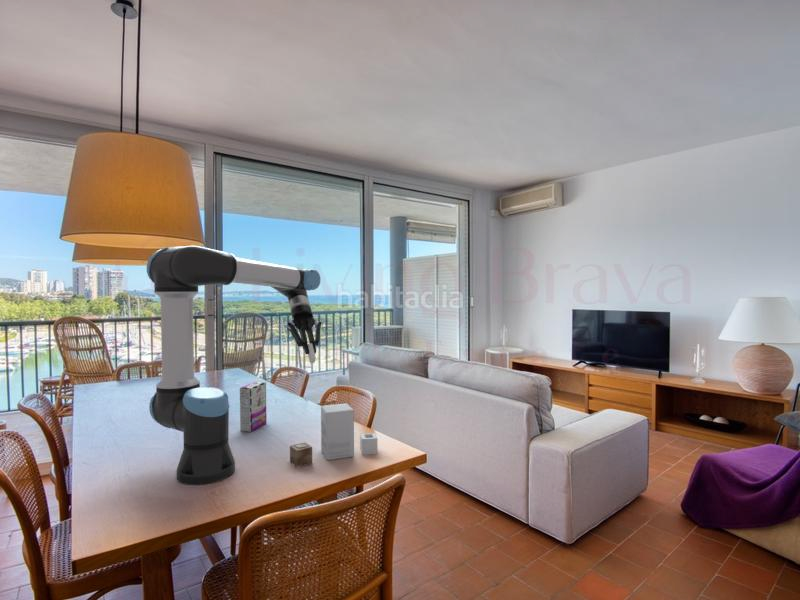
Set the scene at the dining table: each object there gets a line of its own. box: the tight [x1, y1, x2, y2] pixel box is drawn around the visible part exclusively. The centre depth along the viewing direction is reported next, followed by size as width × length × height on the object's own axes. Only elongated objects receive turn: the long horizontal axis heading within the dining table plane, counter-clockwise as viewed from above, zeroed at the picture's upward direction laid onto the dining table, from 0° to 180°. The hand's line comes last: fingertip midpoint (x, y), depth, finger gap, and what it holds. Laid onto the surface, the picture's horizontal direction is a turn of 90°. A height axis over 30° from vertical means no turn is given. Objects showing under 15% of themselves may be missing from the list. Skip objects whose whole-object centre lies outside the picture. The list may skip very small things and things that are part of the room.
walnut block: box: [289, 442, 313, 468], centre depth 129 cm, size 5×5×5 cm
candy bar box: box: [239, 381, 267, 433], centre depth 162 cm, size 11×5×16 cm, turn 168°
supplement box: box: [320, 403, 355, 461], centre depth 136 cm, size 9×9×15 cm
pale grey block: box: [359, 432, 378, 455], centre depth 139 cm, size 5×5×5 cm
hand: (312, 360), depth 147 cm, fingers closed
